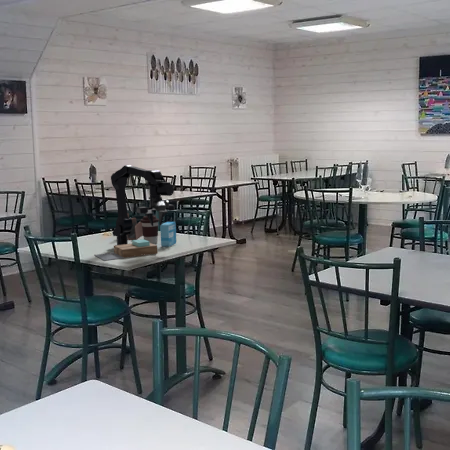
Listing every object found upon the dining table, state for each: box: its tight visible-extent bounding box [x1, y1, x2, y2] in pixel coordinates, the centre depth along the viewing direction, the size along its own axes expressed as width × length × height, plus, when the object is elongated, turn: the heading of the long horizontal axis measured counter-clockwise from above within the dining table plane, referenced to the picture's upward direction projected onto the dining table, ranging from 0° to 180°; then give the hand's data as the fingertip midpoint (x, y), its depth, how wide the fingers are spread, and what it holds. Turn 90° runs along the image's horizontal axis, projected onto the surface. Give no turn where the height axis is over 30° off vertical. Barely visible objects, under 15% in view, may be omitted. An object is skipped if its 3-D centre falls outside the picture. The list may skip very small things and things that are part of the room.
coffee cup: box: [140, 215, 159, 245], centre depth 330 cm, size 10×10×15 cm
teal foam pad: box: [131, 238, 150, 247], centre depth 305 cm, size 9×6×2 cm, turn 29°
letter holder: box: [127, 212, 143, 241], centre depth 353 cm, size 10×20×14 cm, turn 174°
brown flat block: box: [113, 242, 159, 259], centre depth 304 cm, size 14×18×4 cm
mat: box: [94, 251, 125, 262], centre depth 298 cm, size 16×10×1 cm, turn 29°
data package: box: [159, 221, 177, 248], centre depth 324 cm, size 12×4×12 cm, turn 165°
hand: (156, 225), depth 308 cm, fingers open, 4 cm apart
